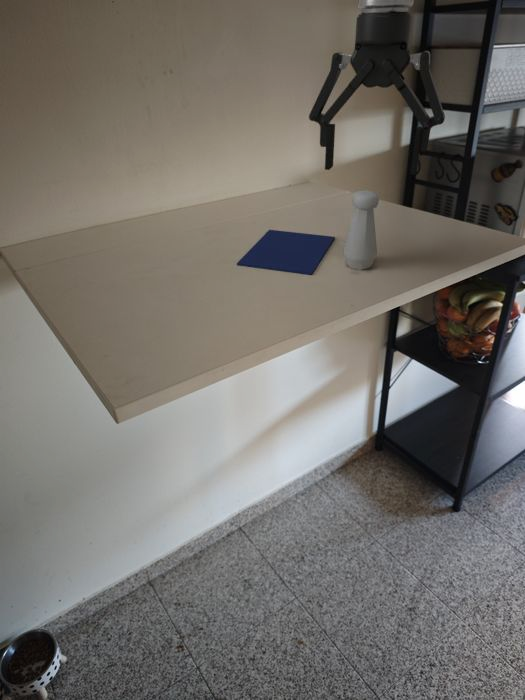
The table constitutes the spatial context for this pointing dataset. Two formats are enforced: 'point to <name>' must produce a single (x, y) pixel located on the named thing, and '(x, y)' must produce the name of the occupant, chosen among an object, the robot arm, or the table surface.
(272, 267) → the cloth
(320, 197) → the table surface
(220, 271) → the table surface
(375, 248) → the salt shaker
